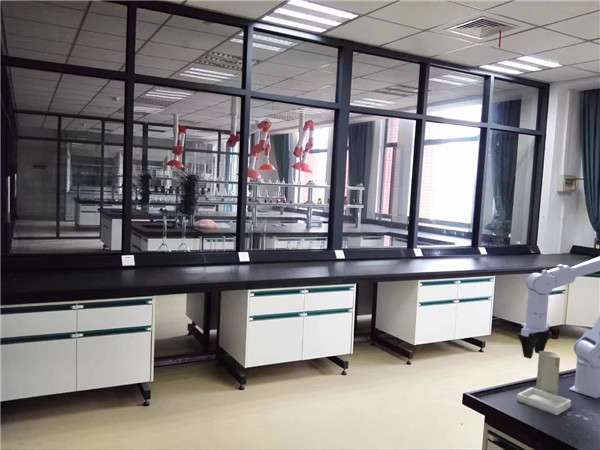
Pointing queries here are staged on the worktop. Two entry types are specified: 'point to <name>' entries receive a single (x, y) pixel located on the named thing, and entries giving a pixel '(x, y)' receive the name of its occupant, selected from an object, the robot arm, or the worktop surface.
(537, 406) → the tray
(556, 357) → the skincare box
